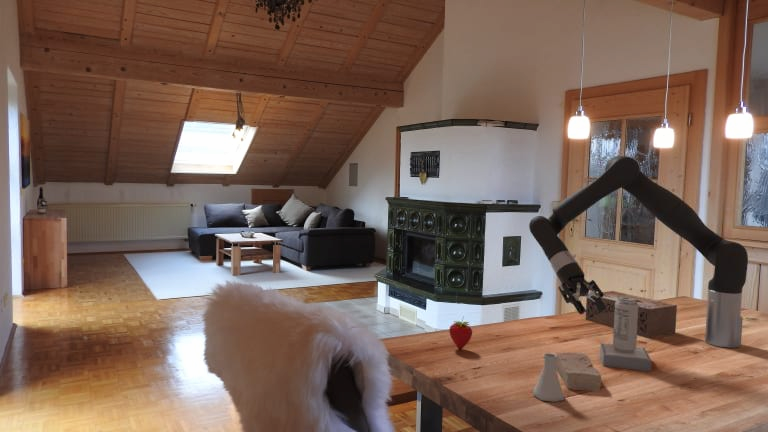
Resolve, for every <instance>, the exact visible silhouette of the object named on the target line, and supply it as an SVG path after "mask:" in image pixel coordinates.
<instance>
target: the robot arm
mask: <svg viewBox="0 0 768 432" xmlns="http://www.w3.org/2000/svg"><path fill="white" fill-rule="evenodd" d="M621 188H622V189H623V190H624V191H626V192H627V193H628V194H630V195H632V196H633V197H634V198H635V199H636V200H637V201H638V202H639V203H640V204H641V205H642V206H643V207H644V208H645V209H646V210H647V211H648V212H650V214H652V215H653V216H654V217H655V218H656V219H657V220H658V221H660V222H661V223H662V224H663V225H664V226H666V227H667V228H668V229H670V230H671V231H672V232H673V233H674V234H676V235H678V236H679V237H680V238H682V239H684V240H685V241H687V242H688V243H690V244H691V246H693V247H694V248H695V249H696V250H697V251H698V252H699V254H701V255H702V256H703V258H705V259H706V261H707V262H708V263H710V264H711V265H712V266H714V271H713V277H712V278H711V279H710V280H709V281H708V284H707V300H706V301H707V302H706V315H705V316H706V318H705V332H704V337H705V338H704V342H705V343H706V344H708V345H712V346H716V347H721V348H729V349H730V348H731V349H732V348H742V337H743V333H742V332H743V317H742V316H741V314H742V302H743V301H742V300H743V299H742V298H743V288H744V286H745V284H746V281H747V274H748V264H749V255H748V251H747V249H746V248H745V246H744V245H742V244H741V243H739V242H736V241H731V240H727V239H726V238H723V237H722V236H720V235H719V234H717V233H716V232H714V231H713V230H712V229H710V228H709V227H708V226H706V224H705V223H704V222H703V220H702V219H701V218H700V216H699V215H698V213H697V212H696V211H695V210H694V208H692V207H691V206H690V205H689V204H688V203H687V202H685V201H684V200H682V198H680V197H679V196H678V195H676V194H675V193H673V192H672V191H670V190H668V189H667V188H665V187H663V186H661V185H660V184H658V183H656V182H654V181H653V180H652V179H650V178H649V177H648V176H646V175H645V173H643V172H642V170H641V169H640V164H639V163H638V161H637V160H636V159H635V158H633V157H630V156H628V155H627V156H626V155H617V156H615V157H612V158H610V159H609V160H608V161H607V163H606V164H605V168H604V172H603V173H602V174H601V175H599V177H597V178H595V180H593V181H592V182H591V183H589V184H588V185H586V186H584V187H582V188H580V189H579V190H577V191H575V192H573V193H572V194H570V195H569V196H567V197H566V198H565V199H563V200H561V201H560V202H559V203H558V204H556V205H555V206H554V207H553V209H552V214H551V215H550V216H549V217H548V218H547V217H546V216H543V215H536V216H534V217H532V218H531V220H530V221H529V224H528V228H529V231H530V233H531V235H532V236H533V238H534V239H535V241H536V242H537V244H538V245H539V246H540V247H541V249H542V251H543V253H544V255H545V256H546V258H547V259H548V262H549V263H550V267H551V268H552V270H553V271H554V273H555V275H556V276H557V278H558V280H559V282H560V283H561V284H560V285H559V286H558V288H557V289H558V290H559V292H560V294H561V296H562V297H563V299H564V302H565V303H566V304H571V305H573V306H574V308H575V310H576V312H577V313H578V314H579V315H584V314H586V307H584V305H583V303H582V302H581V300H580V297H585V298H590V299H591V300H593V301H594V303H595V305H596V306H597V308H598V310H599V311H600V312H603V311H604V310H605V309H606V307H605V305H604V304H603V302H602V300H601V297H602V296H604V294H603V293H602V292H603V291H602V290H601V288H600V287H599V286H598V284H597V283H596V281H595V280H593V279H592V280H591V281H587V280H586V279H585V272H584V271H583V269H582V268H581V266H580V265H579V263H578V262H577V260H576V259H575V257H574V256H573V254H572V253H571V252H570V250H569V249H568V248H567V245H565V242H563V240H562V239H561V238H560V237H559V234H561V232H562V230H564V229H565V227H566V226H567V225H568V224H569V223H570V222H572V221H574V220H575V219H576V218H578V217H579V216H580V215H582V214H583V213H584V212H586V211H587V210H588V209H590V208H591V207H592V206H594V205H595V204H596V203H598V202H599V201H601V200H602V199H604V198H605V197H608V196H609V195H610V194H612V193H614V192H617V190H619V189H621ZM597 293H599V294H597ZM592 295H594V296H595V298H594V297H593V296H592Z"/></svg>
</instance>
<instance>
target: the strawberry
mask: <svg viewBox="0 0 768 432" xmlns="http://www.w3.org/2000/svg"><path fill="white" fill-rule="evenodd" d="M464 317H465V316H464V315H463V317H462V320H461V321H458V320H457V321H455V320H454V321H453V322H454V323H452V324H451V325H450V326H449V331H448V332H449V335H450V338H451V340H452V342H453V343H454V345H455V346H456V348H457V349H458V350H463V348H464V347H465V346H466V345H467V344H469V342H470V340H471V339H472V336H473V330H472V328H471V326H470V324H469V323H470V322H469V321H463V320H464Z"/></svg>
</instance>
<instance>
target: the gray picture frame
mask: <svg viewBox="0 0 768 432" xmlns="http://www.w3.org/2000/svg"><path fill="white" fill-rule="evenodd" d="M599 353H600V359H601V362H602V366H603V367H609V368H619V369H626V370H627V369H628V370H635V371H636V370H637V371H643V372H652V359H651V357H650V355H649V352H647V349H646V347H641V346H636V349H635V350H634V352H633V353H623V352H619V351H616V350H615V347H613V343H603V342H600V347H599Z"/></svg>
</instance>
